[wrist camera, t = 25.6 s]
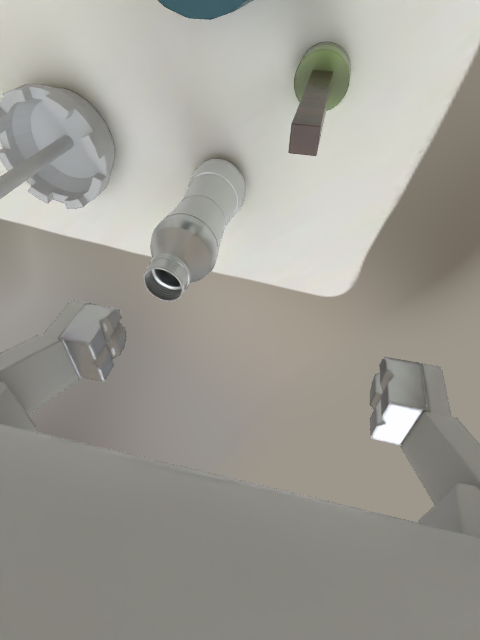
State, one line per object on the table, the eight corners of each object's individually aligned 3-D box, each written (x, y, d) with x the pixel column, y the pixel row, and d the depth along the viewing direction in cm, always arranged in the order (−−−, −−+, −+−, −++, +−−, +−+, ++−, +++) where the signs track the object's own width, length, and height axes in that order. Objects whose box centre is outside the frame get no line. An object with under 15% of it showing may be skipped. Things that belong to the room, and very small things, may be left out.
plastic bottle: (243, 149, 43) (187, 249, 29) (253, 205, 47) (208, 315, 33) (190, 155, 45) (113, 252, 31) (204, 208, 49) (143, 314, 35)
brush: (302, 39, 35) (269, 93, 23) (355, 43, 34) (351, 101, 22) (295, 98, 38) (264, 173, 26) (344, 103, 37) (335, 181, 25)
